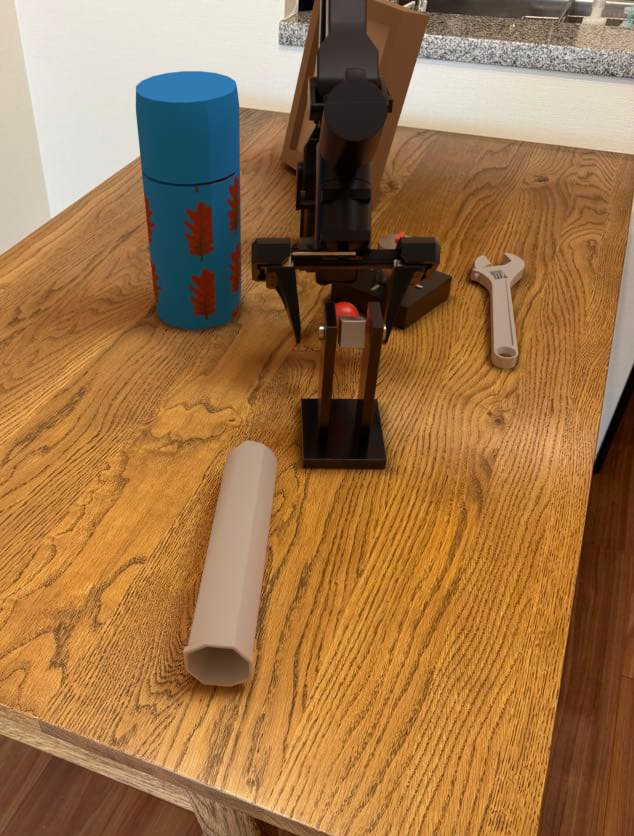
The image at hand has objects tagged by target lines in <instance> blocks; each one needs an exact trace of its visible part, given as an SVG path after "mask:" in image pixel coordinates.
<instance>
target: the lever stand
mask: <svg viewBox="0 0 634 836" xmlns="http://www.w3.org/2000/svg"><path fill="white" fill-rule="evenodd" d="M335 304H336V303H335V302H333V301H325V302H324V303H323V311H322V312H323V313H322V314H323V315H322V323H319V324H317V325H318V326H317V340H318V341H320V342H321V343H320V355H319V356H320V358H319V369H318V371H319V372H318V384H317V385H318V386H317V397H316V398H312V397H311V398H303V397H302V398H300V430H301V431H300V432H301V453H302V454H301V455H302V456H301V457H302V459H301V460H302V469H329V470H330V469H331V470H333V469H335V470H337V469H341V470H342V469H343V470H347V469H349V470H386V469H387V462H388V458H387V453H386V445H385V439H384V433H383V432H384V431H383V426H382V420H381V413H380V406H379V400H378V398H376V392H377V383H378V376H379V375H378V374H379V368H380V362H381V361H380V360H381V353H382V347H383V344H382V340H385V337H386V325H385V324H383V319H382V314H381V308H380V303H379V302H368V310H367V315H366V319H365V320H366V335H365V348H362V356H361V364H360V371H359V381H358V389H357V398H333V387H334V377H335V376H334V375H335V366H336V365H335V363H336V353H337V352H336V351H337V343H338V334H337V330H338V325H337V316H336V307H335Z"/></svg>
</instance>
